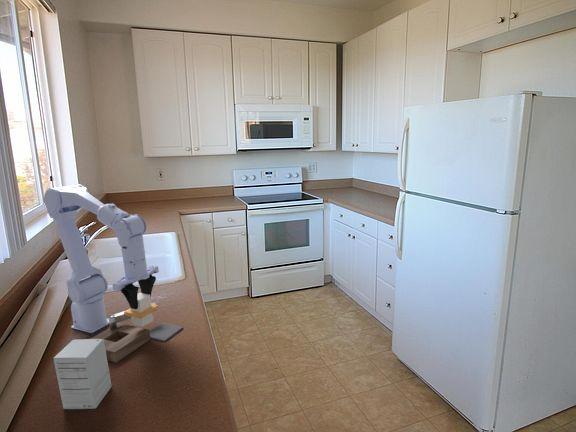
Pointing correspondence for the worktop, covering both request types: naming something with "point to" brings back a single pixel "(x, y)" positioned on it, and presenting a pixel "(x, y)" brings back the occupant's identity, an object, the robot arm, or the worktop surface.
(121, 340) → the socket block
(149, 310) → the plug
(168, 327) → the mat
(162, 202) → the worktop surface
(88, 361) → the supplement box
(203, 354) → the worktop surface
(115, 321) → the light grey long bar
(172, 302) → the worktop surface
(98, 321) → the robot arm
